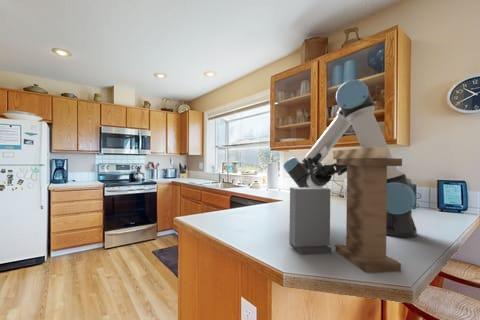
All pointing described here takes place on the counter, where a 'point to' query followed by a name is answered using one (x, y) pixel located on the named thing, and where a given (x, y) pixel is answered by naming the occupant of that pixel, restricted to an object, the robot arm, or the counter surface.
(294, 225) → the grey rectangular block
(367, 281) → the counter surface
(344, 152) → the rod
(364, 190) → the stand
